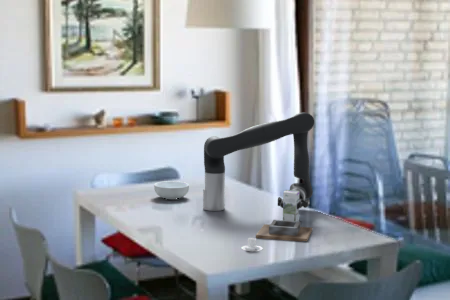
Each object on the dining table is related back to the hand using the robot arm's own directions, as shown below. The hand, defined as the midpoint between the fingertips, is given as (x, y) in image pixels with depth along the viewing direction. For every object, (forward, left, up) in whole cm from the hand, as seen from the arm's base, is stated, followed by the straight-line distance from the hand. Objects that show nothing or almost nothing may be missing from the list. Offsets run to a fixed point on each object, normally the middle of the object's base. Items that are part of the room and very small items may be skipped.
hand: (290, 206), depth 302 cm
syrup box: (0, +2, -9) cm, 9 cm away
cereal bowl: (-64, +38, -9) cm, 75 cm away
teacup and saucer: (-11, -39, -9) cm, 41 cm away
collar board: (0, -14, -9) cm, 16 cm away
